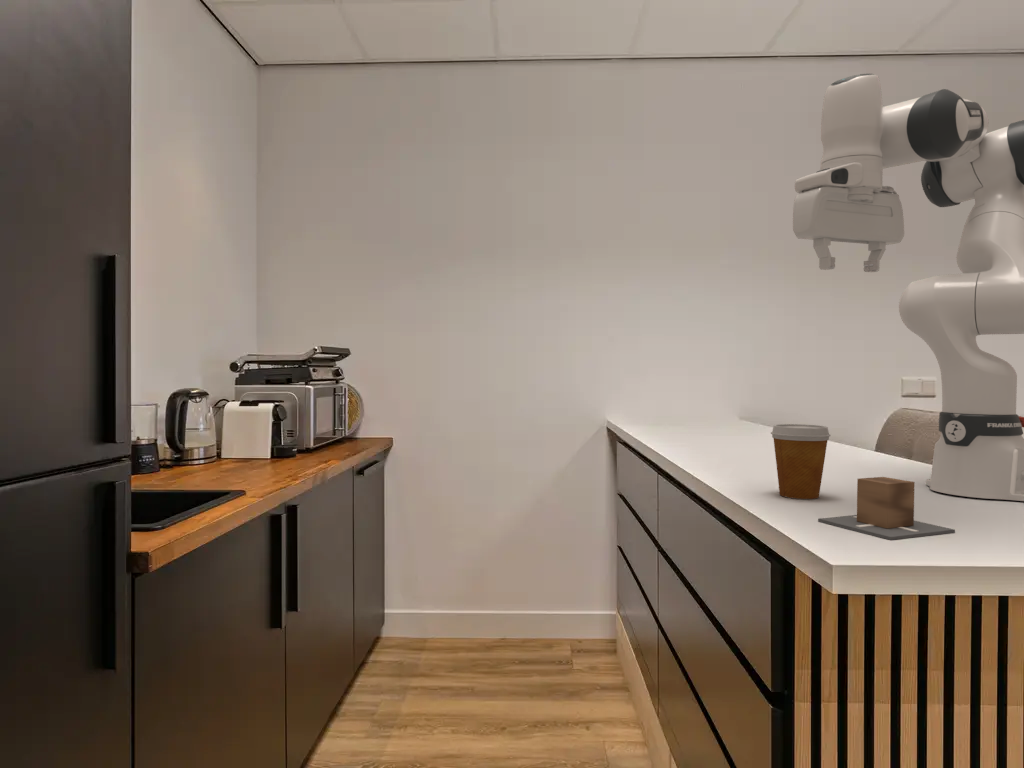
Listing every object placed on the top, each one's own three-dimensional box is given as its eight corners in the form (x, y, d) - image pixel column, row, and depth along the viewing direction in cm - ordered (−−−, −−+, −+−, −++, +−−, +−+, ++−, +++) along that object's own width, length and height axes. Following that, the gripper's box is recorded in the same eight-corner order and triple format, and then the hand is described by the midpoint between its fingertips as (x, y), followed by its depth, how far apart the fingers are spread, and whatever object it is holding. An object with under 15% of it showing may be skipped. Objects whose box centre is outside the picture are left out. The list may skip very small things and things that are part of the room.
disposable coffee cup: (818, 491, 130) (820, 424, 129) (837, 501, 120) (838, 429, 120) (763, 490, 131) (764, 423, 130) (777, 500, 121) (779, 428, 121)
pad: (879, 515, 109) (879, 512, 109) (955, 532, 98) (955, 529, 98) (818, 521, 105) (818, 518, 105) (890, 540, 94) (890, 536, 94)
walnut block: (882, 518, 105) (883, 476, 105) (913, 525, 100) (914, 482, 100) (856, 521, 103) (857, 478, 103) (887, 528, 98) (888, 484, 98)
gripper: (881, 191, 121) (880, 275, 122) (786, 180, 113) (785, 270, 114) (915, 183, 115) (914, 271, 116) (818, 170, 107) (816, 265, 108)
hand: (849, 270), depth 115 cm, fingers open, 8 cm apart
